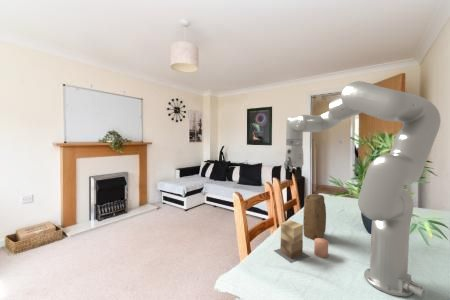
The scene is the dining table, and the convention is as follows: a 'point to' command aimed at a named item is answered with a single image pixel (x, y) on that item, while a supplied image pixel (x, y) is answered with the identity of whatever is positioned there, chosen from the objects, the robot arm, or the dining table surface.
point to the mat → (290, 258)
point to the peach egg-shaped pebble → (321, 248)
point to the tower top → (291, 231)
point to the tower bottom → (292, 248)
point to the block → (314, 216)
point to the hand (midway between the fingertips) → (293, 178)
